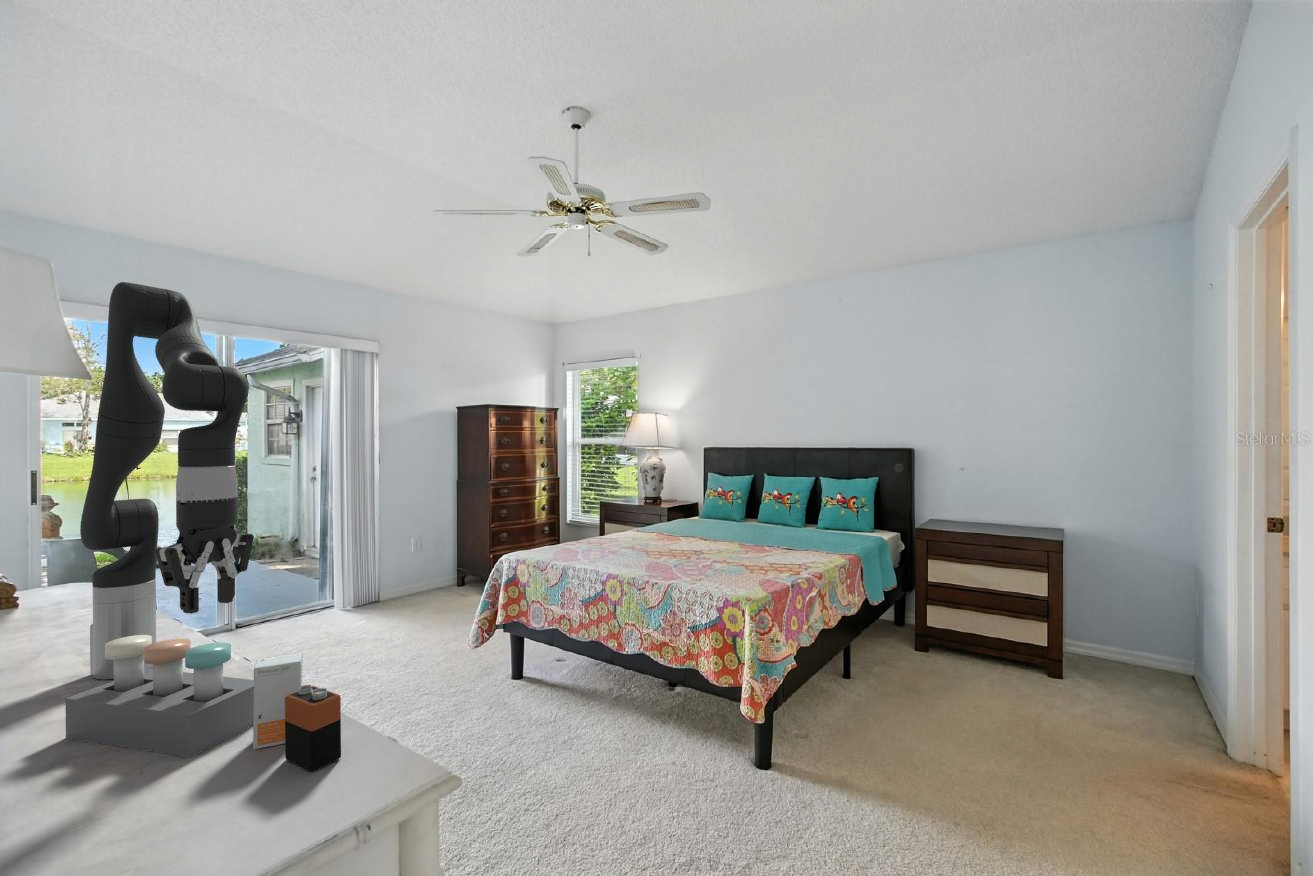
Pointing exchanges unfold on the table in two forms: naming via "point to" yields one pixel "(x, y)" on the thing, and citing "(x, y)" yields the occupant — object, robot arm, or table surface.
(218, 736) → the mount
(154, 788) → the table surface
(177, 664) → the knob mid
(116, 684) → the knob
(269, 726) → the skincare box
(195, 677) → the knob
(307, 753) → the battery
